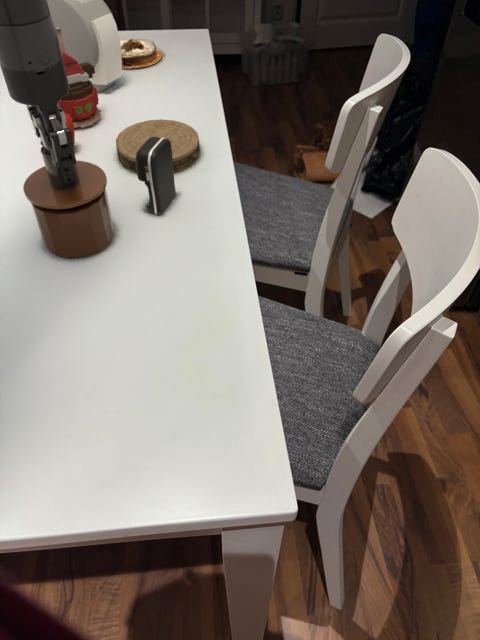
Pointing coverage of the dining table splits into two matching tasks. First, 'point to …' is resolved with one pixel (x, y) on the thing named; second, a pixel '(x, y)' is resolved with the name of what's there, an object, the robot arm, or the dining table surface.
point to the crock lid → (51, 195)
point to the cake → (79, 90)
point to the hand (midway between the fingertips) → (63, 176)
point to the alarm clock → (90, 37)
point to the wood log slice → (177, 132)
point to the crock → (76, 228)
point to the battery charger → (156, 172)
